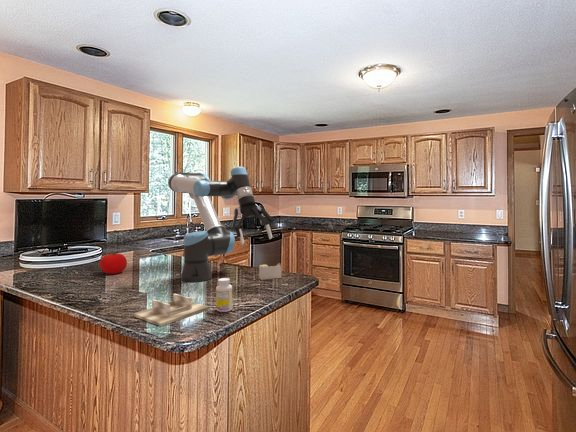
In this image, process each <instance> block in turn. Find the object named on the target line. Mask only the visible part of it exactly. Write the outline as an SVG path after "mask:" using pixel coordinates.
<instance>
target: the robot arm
mask: <svg viewBox="0 0 576 432" xmlns="http://www.w3.org/2000/svg"><path fill="white" fill-rule="evenodd" d="M167 186H168V188H169V189H170V191H172V192H175V193H178V194H188V195H189V198H190V199H192V200H194V203H195V206H196V208H197V210H198V213H199V216H200V219H201V221H202V223H203V226H204V228H205V230H200V231H193V232H189V233H187V234H185V235H184V236H183V266H182V271H181V274H180V281H182V282H187V283H195V282H196V283H197V282H206V281H209V280H211V279H212V278H213V274H212V271H211V267H210V264H209V257H213V256H222V255H227V254H231V253H232V252H233V250H234V249H235V244H236V239H235V238H236V237H237V238H239V240H240V244H241V245H244V244H245V239H244V235H243V231H242V228H240V227H241V226H242V224H243V222H244V220H245V218H253V217H255V218H258V220H260V221H261V222H262V223H264V224H265V227H266V229H265V230H266V232H267V236H268V239H269V240H271V239H272V238H274V237H273V234H272V232H273V227H272V224H273V223H274V222H275V220H274V219H273V217H272V216H271V215H270V214H269V212H268V211H267V210H266V209H265V207H264V205H263V204H260V205H256V200H255V197H254V194H253V190H252V187H251V183H250V179H249V174H248V171H247V169H246V168H245V167H244V166H235V167H233V168H231V170H230V178H229V179H228V180H210V177H209V176H208V174H206V173H200V172H175V173H173V174H171V176H169V178H168V180H167ZM235 196H236V199H237V201H238V202H237V203H238V206H239V208H235V209H234V210H233V220H232V223H231V228H230V230H231V231H228V230H227V228H226V226H224V225H222V223H221V222H220V218H219V216H218V213H217V211H216V209H215V206H214V204H213V202H212V199H211V198H210V197H221V198H222V199H224V200H226V201H227V200H231V199H233V198H234V197H235ZM239 214H241V215H242V216H241V217H240V220H239V221H238V217H239ZM237 221H238V223H237ZM236 224H237V225H236ZM232 231H234V232H235V233H236V237H235V234H234V233H233V232H232Z"/></svg>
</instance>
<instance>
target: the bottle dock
mask: <svg viewBox="0 0 576 432" xmlns="http://www.w3.org/2000/svg"><path fill="white" fill-rule="evenodd" d="M172 298H173V299H172V300H171V301H170V300H169V301H167V302H164V301H160V300H157V299H151V308H150V307H149V308H147V309H142V310H140V311H136V312H134V313H133V314H132V316H133V317H134V318H137V319H140V320H142V321H145V322H148V323H151V324H154V325H156V326H157V327H158V326H159V327H163V326H165V325H168V324H172V323H174V322H177V321H179V320H180V321H181V320H183V319H185V318H188V317H192V316H194V315H197V314H199V313H203V312H205V311H208V310H210V306H209V305H205V304H201V303H197V302H194V301H192V300H193V298H192V297H189V296H186V295H183V294H177V293H173V295H172Z"/></svg>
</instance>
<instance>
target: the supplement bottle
mask: <svg viewBox="0 0 576 432" xmlns="http://www.w3.org/2000/svg"><path fill="white" fill-rule="evenodd" d="M230 280H231V279H230V278H229V277H222V278H218V280H217V283H218V285H217V286H216V287H215V298H216V311H218V312H219V313H226V312H231V311H232V310H233V306H234V304H233V300H234V299H233V285H231V284H230V282H231V281H230Z"/></svg>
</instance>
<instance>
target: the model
mask: <svg viewBox="0 0 576 432" xmlns="http://www.w3.org/2000/svg"><path fill="white" fill-rule="evenodd" d="M258 270H259V271H258V279H259V280H261V281H264V280H273V279H282V265H281V263H280V262H278V263H277V264H276V265H273V266H271V265H270V266H269V265H268V264H259V266H258Z"/></svg>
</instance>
